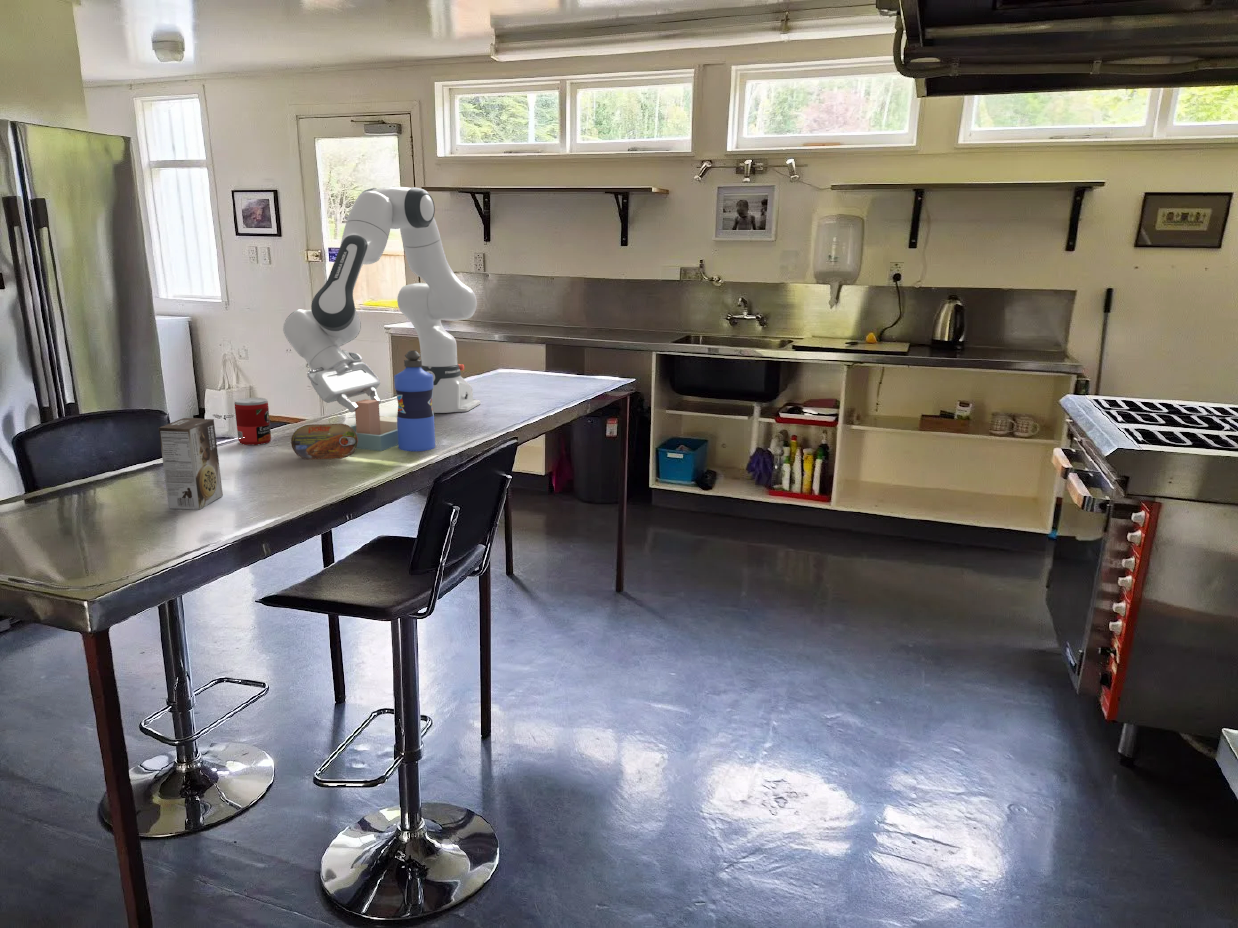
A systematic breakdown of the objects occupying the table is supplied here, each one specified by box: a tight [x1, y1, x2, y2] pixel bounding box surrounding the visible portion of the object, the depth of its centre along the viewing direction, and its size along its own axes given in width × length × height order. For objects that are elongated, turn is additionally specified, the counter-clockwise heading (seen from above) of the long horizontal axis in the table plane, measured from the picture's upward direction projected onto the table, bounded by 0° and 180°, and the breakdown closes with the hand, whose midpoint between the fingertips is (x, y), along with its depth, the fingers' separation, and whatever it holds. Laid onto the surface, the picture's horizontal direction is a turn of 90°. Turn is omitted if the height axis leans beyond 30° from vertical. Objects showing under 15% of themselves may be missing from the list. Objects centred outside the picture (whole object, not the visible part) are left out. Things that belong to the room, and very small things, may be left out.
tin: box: [290, 423, 358, 461], centre depth 194 cm, size 15×3×8 cm, turn 102°
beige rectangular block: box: [380, 415, 398, 434], centre depth 212 cm, size 5×9×5 cm, turn 71°
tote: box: [349, 423, 398, 452], centre depth 209 cm, size 18×14×4 cm
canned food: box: [233, 397, 272, 446], centre depth 207 cm, size 8×8×11 cm
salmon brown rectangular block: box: [354, 398, 381, 435], centre depth 204 cm, size 4×4×11 cm
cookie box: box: [157, 417, 224, 510], centre depth 157 cm, size 9×6×16 cm
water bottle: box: [393, 350, 436, 452], centre depth 201 cm, size 9×9×25 cm
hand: (367, 407), depth 203 cm, fingers open, 8 cm apart
